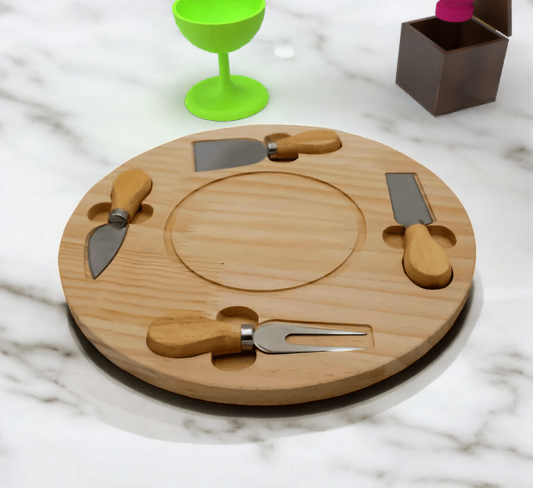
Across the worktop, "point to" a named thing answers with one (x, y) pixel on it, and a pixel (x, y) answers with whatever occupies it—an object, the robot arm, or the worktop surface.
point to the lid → (495, 14)
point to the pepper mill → (454, 10)
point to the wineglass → (222, 55)
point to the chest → (450, 63)
